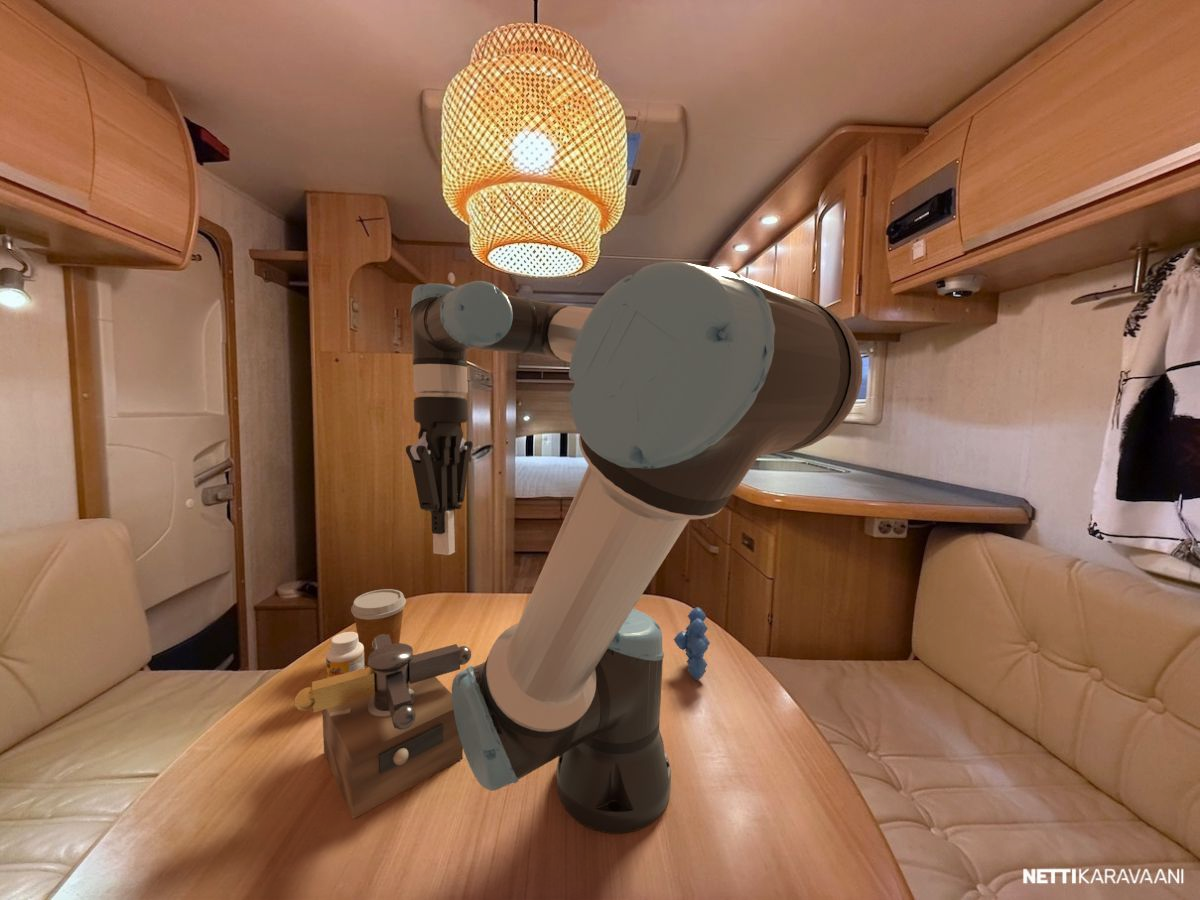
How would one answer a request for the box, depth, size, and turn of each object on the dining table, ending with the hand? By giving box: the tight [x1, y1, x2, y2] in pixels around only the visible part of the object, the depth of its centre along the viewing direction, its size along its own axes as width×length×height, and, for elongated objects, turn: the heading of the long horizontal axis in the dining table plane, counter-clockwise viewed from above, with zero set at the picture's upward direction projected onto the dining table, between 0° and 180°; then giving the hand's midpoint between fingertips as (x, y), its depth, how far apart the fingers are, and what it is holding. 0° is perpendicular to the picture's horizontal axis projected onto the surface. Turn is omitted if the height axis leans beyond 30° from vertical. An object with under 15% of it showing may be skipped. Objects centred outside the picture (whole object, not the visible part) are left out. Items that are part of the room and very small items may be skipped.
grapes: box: [673, 606, 711, 681], centre depth 85 cm, size 12×7×12 cm, turn 172°
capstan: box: [294, 634, 472, 730], centre depth 63 cm, size 22×22×7 cm
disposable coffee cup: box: [350, 588, 407, 667], centre depth 87 cm, size 10×10×12 cm
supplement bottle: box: [325, 631, 365, 678], centre depth 76 cm, size 6×6×10 cm
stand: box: [321, 676, 464, 820], centre depth 63 cm, size 16×14×8 cm
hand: (444, 552), depth 68 cm, fingers closed
